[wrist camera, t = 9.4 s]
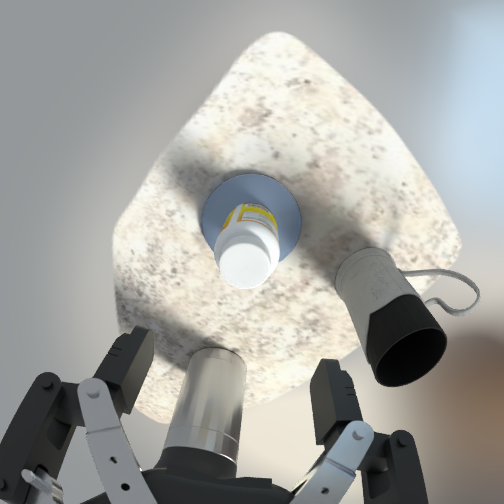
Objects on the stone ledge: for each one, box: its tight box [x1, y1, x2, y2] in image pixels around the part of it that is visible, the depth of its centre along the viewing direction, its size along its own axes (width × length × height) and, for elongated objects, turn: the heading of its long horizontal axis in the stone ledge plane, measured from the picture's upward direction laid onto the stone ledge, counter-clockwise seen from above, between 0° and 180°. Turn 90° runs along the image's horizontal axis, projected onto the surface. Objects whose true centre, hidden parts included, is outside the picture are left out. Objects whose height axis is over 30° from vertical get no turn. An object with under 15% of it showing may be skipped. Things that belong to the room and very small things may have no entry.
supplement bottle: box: [214, 202, 280, 289], centre depth 25 cm, size 6×6×10 cm
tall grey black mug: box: [335, 248, 480, 387], centre depth 25 cm, size 9×14×15 cm, turn 122°
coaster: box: [202, 174, 301, 262], centre depth 30 cm, size 11×11×1 cm
